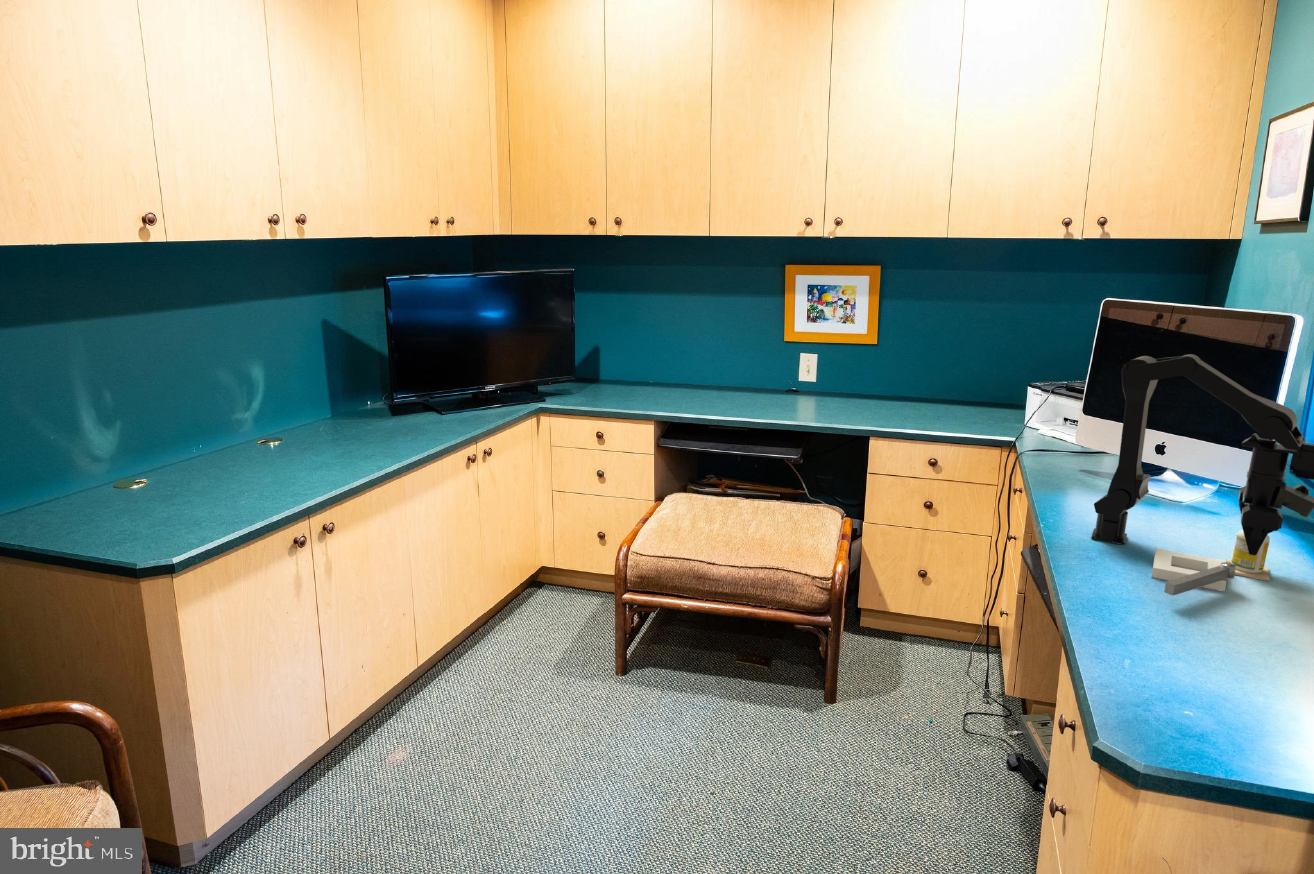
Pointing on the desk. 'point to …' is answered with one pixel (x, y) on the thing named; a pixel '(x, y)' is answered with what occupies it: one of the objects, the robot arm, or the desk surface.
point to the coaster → (1262, 575)
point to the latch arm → (1200, 579)
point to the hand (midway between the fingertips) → (1251, 547)
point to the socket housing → (1168, 572)
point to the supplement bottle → (1245, 559)
